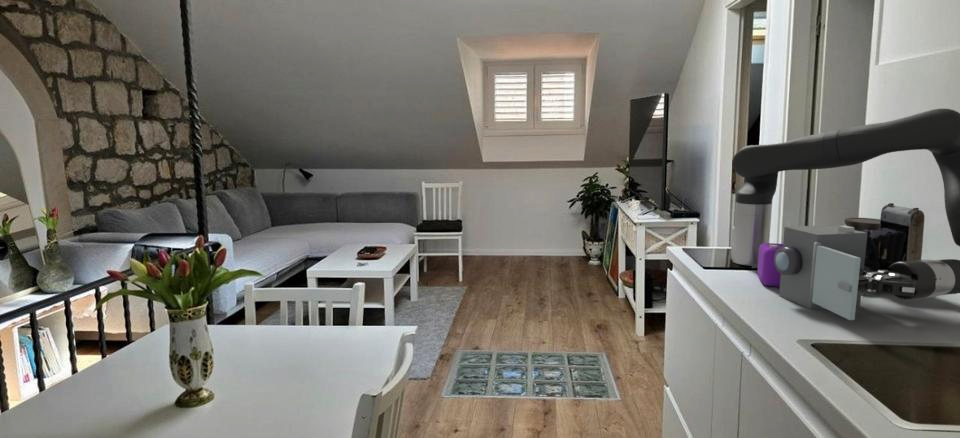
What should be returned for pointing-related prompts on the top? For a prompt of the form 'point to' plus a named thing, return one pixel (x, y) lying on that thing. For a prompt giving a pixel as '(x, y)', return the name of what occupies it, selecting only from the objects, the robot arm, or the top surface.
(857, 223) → the coffee can
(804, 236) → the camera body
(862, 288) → the robot arm
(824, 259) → the side door
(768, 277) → the toy camera
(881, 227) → the vintage camera
